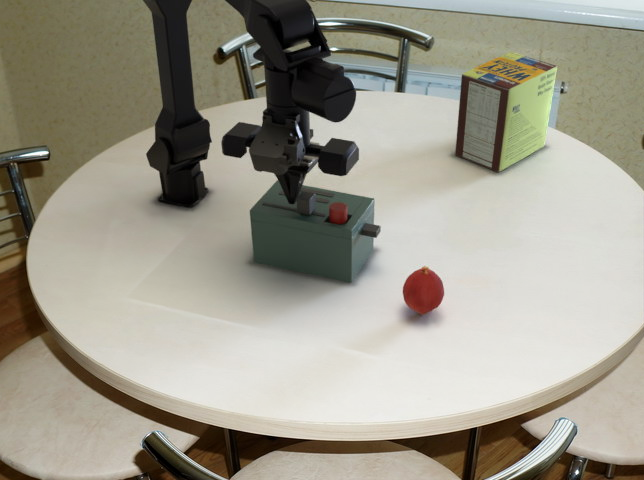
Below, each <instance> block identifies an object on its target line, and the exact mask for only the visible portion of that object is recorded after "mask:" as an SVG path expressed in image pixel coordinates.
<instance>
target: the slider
mask: <svg viewBox="0 0 644 480" xmlns="http://www.w3.org/2000/svg"><path fill="white" fill-rule="evenodd" d="M296 199H297V213H300V214H305V215H310V214H311V213H312V212H313V210H314V209H315V208H316V200H315V193H311V192H306V191H302V192H301V194H300V195H299V196H298V197H297V198H296Z"/></svg>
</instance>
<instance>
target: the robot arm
mask: <svg viewBox="0 0 644 480" xmlns="http://www.w3.org/2000/svg"><path fill="white" fill-rule="evenodd" d="M192 1H193V0H142V2H143V3H144V4H145V5H146V7H147V8H148V10H149V11H150V14H151V18H152V28H153V36H154V43H155V52H156V53H155V54H156V61H157V68H158V77H159V87H160V94H161V95H160V96H161V102H162V107H161V110H160V112H159V114H158V117H157V119H156V121H155V123H154V142H153V143H152V145H151V146H150V147H149V149H148V150H147V152H146V153H145V155H146V158H147V162H148V165H149V167H151V168H153V169H154V170H156V171H157V172H158V173H159V174H158V175H159V180H160V186H161V192H162V193H161V194H160V195H159V196H158V197H157V201H159V202H160V203H161V202H162V203H165V204H171V205H176V206H181V207H187V208H192V207H194V206H195V205H196V204H197V203H198V202H199V201H200V200H201V199H202V198H203V197H204V196H205V195H206V194H207V193H209V188H208V187H206V182H205V175H204V171H203V170H202V167H201V162H203V161H206V160H208V156H209V150H210V147H211V143H213V141H212V137H211V124H210V122H209V120H208V119H207V118H204V117H203V115H202V114H201V112H199V110H198V109H197V108H196V103H195V101H196V100H195V91H194V90H195V89H194V82H193V81H194V80H193V71H192V70H193V68H192V59H191V57H192V56H191V47H190V37H189V27H188V25H189V24H188V12H189V11H188V10H189V8H190V6H191V4H192ZM224 1H225V2H226V3H227V4H229V5H230V6H231V7H232V8H233V10H236V11H237V12H238V13H239V14H240V16H242V18H243V20H244V25H245V26H244V27H245V29H246V30H245V31H246V33H248V34H249V36H250V37H251V38H252V39H253V40H254V41H255V42H256V44H257V45H258V46H259V48H257V49H256V50H255V51H254V52H253V54H252V57H253V59H254V60H257V61H259V62H262V63H263V68H264V69H263V70H264V85H265V86H264V87H265V99H266V101H265V102H266V107H265V109H264V110H262V117H261V119H262V123H261V124H253V123H248V122H242V121H238V122H237V123H236V124H235V125H233V126H232V128H231V129H229V130H228V131H227V132H226V133H225V134H224V135H223V136H222V137H221V142H220V143H221V153H222V154H223V156H226V157H230V158H231V157H232V158H236V159H241V158H243V157H244V156H245V155H246V154H247V153H249V157H250V160H251V164H252V167H253V169H254V171H256V172H259V173H262V172H265V173H271V174H274V176H275V178H276V179H277V180H278V181H279V183H280V184H281V187H282V189H283V192H284V194H285V196H286V198H287V200H288V203H289V204H293V205H294V204H295V203H296V201H297V199H296V198H297V197H298V196H299V193H300V190H301V188H302V185H304V182H305V180H306V178H307V175H308V174H310V172H311V171H312V170H313V169H314V167H315V166H316V165H317V167H318V169H319V170H320V171H321V172H322V173H323V174H326V175H330V176H338V177H345V176H347V175H349V173H350V171H351V170H352V169H353V168H354V166H355V165H356V164H357V163H358V161H359V160H360V148H359V146H358V145H357V143H356V142H355V141H354V140H347V139H342V138H335V137H330V139H329V140H328V141H327V143H326V144H325V145H321V144H320V143H319V142H314V141H311V139H313V138H314V129H313V128H311V122H310V118H311V117H310V113H311V114H313V115H315V116H317V117H320V118H322V119H325V120H326V121H329V122H331V123H336V124H337V123H341V122H343V121H344V120H345V119H347V118H348V117H349V116H350V114H351V112H352V111H353V109H354V107H355V104H356V100H357V89H356V88H355V84H354V82H353V81H352V79H351V78H350V77H348V76H345V67H344V66H343V65H341V64H338V63H332V62H329V61H327V60H324V59H326V58H329V57H331V56H332V51H331V49H330V46H329V45H328V39H327V38H326V36H325V35H324V32H323V31H322V29H321V27H320V24H319V22H318V20H317V17H316V15H315V13H314V11H313V7H312V6H311V4H310V3H309V1H307V0H224ZM306 43H308V44H309V45H308V46H305V47H302V48H299V49H296V50H290V49H292V48H294V47H297V46H300V45H303V44H306Z"/></svg>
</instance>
